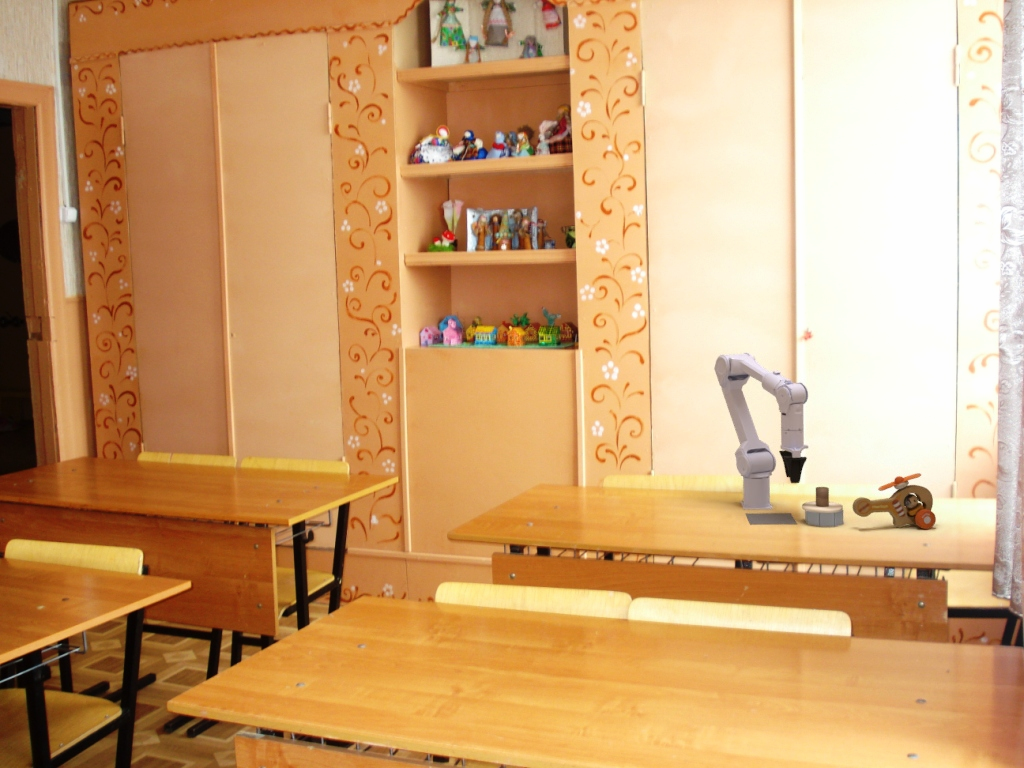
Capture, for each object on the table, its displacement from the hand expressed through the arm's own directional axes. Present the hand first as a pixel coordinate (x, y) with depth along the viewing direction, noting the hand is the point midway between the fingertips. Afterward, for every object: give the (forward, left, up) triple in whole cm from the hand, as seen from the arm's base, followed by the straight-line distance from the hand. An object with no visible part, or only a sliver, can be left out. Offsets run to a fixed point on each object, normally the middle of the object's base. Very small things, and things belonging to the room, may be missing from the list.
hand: (792, 479), depth 263 cm
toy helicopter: (+10, +24, -11) cm, 28 cm away
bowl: (+6, +7, -10) cm, 14 cm away
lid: (+6, +6, -6) cm, 11 cm away
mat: (+2, -6, -10) cm, 12 cm away
